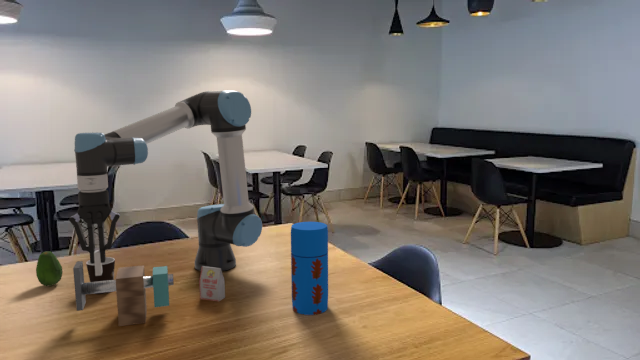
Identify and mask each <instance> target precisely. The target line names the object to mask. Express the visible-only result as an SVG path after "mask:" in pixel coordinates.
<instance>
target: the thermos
mask: <svg viewBox="0 0 640 360" xmlns="http://www.w3.org/2000/svg"><path fill="white" fill-rule="evenodd" d="M328 228H329V227H328V224H326V223H324V222H320V221H302V222H301V221H300V222H296V223H293V224H292V225H291V228H290V259H291V260H290V263H291V264H290V265H291V266H290V269H291V270H290V271H291V272H290V274H291V276H290V279H291V302H292V303H291V304H292V310H293V311H294V312H295V313H296V314H298V315H299V314H300V315H303V314H304V316H305V315H306V316H313V315H315V314H316V315H318V314H323V313H325V312H326V311H327V310H328V306H329V303H328V302H329V229H328ZM316 315H315V316H316Z"/></svg>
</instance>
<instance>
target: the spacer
mask: <svg viewBox="0 0 640 360" xmlns="http://www.w3.org/2000/svg"><path fill="white" fill-rule="evenodd" d="M168 269H169V268H168V265H165V266H154V267H152V276H153V287H152V288H153V289H152V290H153V304H154V305H153V307H154V308H160V307H161V308H162V307H168V306H169V307H170V292H169V286H168V274H169V273H168V271H169V270H168Z"/></svg>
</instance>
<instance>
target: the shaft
mask: <svg viewBox="0 0 640 360" xmlns="http://www.w3.org/2000/svg"><path fill="white" fill-rule="evenodd" d="M83 263H84V262H83V260H80V261H76V262H75V264H74V266H73V268H72V271H73V272H72V273H73V282H74V284H73V285H74V294H75V306H76V307H75V308H76V311H78V312H79V311H83V310H84V308H85V306H86V302H87V300H86V295H92V294H94V293H104V292H109V293H111V292H116V279H114V280H107V281H97V282H90V281H88V282H87V281H86V282H85V273H84V264H83ZM174 284H175V283H174V273H168V287H169V286H174ZM144 288H145V289H149V288H153V275H148V276H145V277H144ZM94 295H95V294H94Z"/></svg>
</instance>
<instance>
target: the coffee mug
mask: <svg viewBox="0 0 640 360" xmlns="http://www.w3.org/2000/svg"><path fill="white" fill-rule="evenodd" d="M115 262H116V259H115V258H114V257H111V256H106V260H105V262H104V263H102V275H100V276H95V263H93V264H91V262H90V259H89V260H87V261H86V263H85V264H86V269H87V272H88V273H87V274H88V279H89V282H97V281H107V280H115V266H116V263H115ZM109 293H110V292H104V293H94V295H105V294H109Z"/></svg>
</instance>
